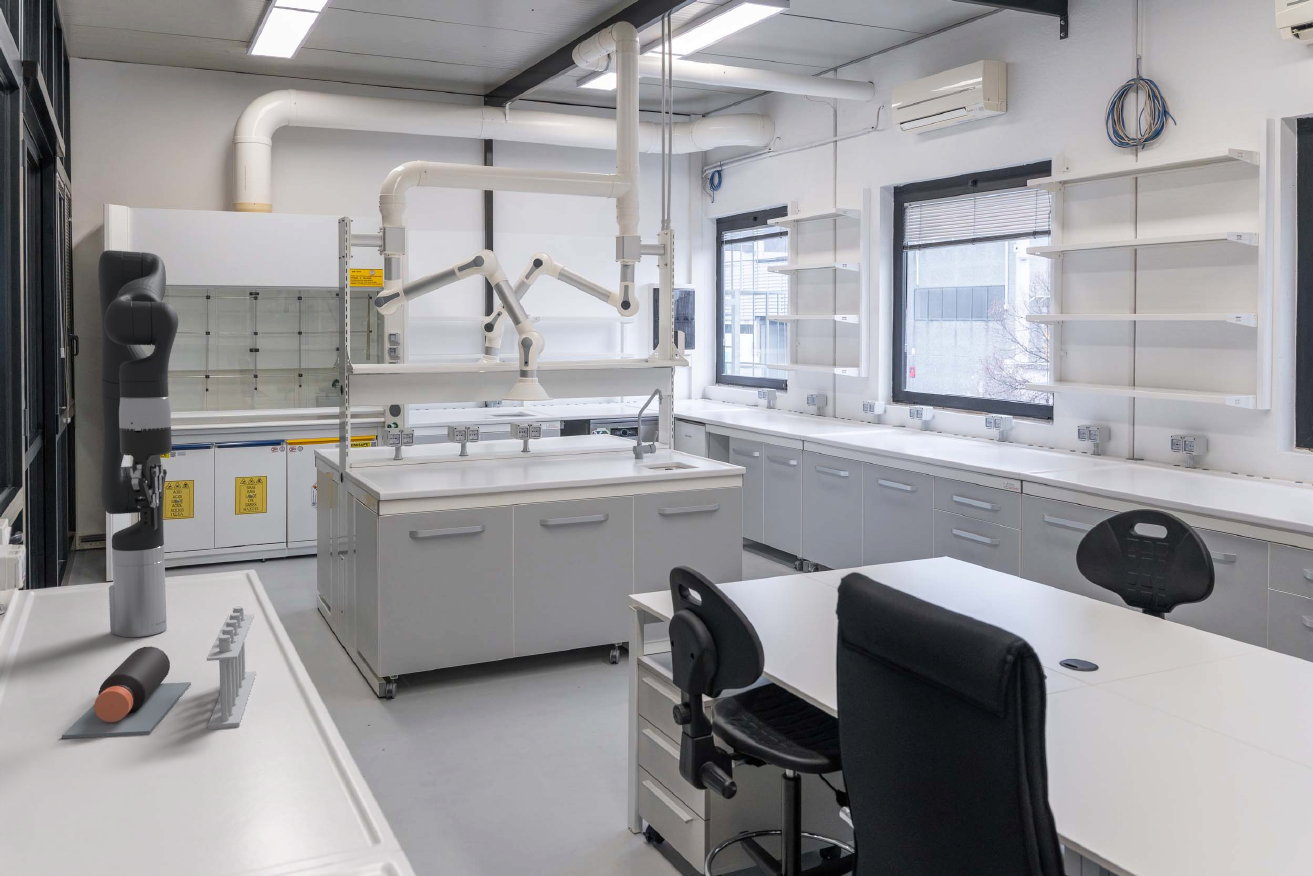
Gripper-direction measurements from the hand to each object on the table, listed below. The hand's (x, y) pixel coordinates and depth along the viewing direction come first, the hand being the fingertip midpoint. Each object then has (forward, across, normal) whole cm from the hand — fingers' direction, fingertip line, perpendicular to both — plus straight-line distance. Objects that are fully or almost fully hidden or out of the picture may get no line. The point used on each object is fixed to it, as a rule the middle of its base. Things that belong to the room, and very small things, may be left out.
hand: (149, 529), depth 167 cm
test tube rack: (+27, +7, +14) cm, 32 cm away
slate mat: (+27, +9, -1) cm, 29 cm away
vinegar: (+24, -3, -2) cm, 24 cm away
